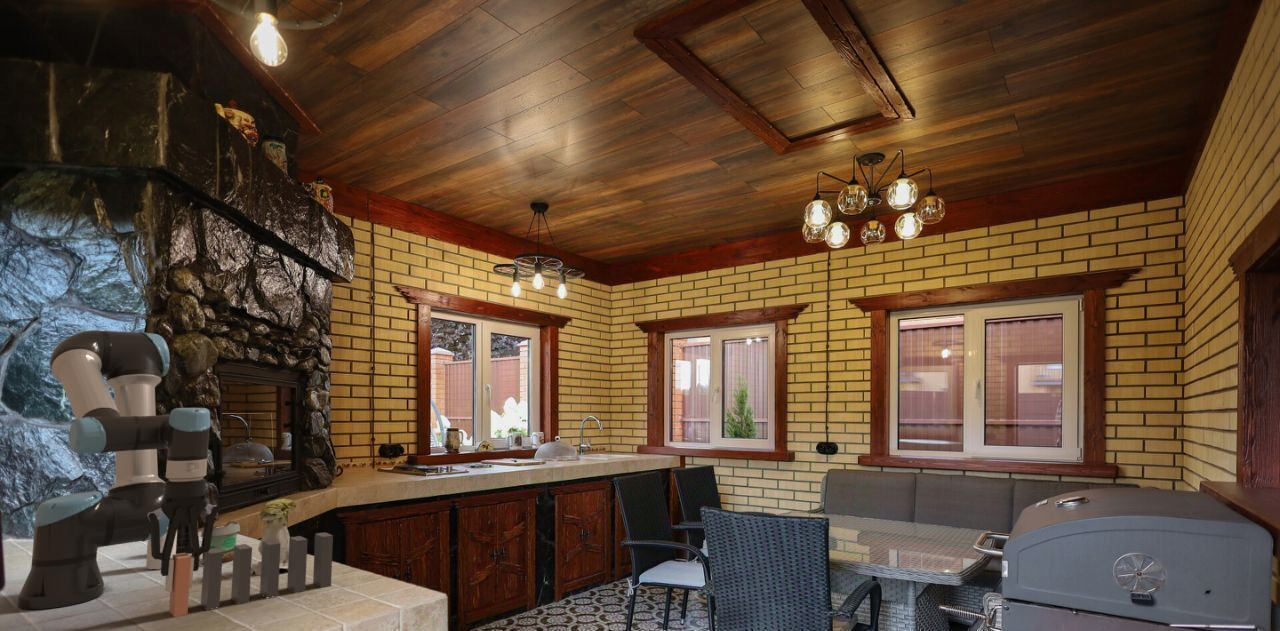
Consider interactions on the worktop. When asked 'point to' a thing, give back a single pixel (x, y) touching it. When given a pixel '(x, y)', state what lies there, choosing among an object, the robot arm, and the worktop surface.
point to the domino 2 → (211, 578)
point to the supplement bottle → (183, 538)
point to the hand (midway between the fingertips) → (178, 588)
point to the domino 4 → (270, 568)
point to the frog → (276, 529)
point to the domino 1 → (180, 585)
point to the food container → (224, 539)
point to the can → (156, 563)
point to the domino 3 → (241, 573)
